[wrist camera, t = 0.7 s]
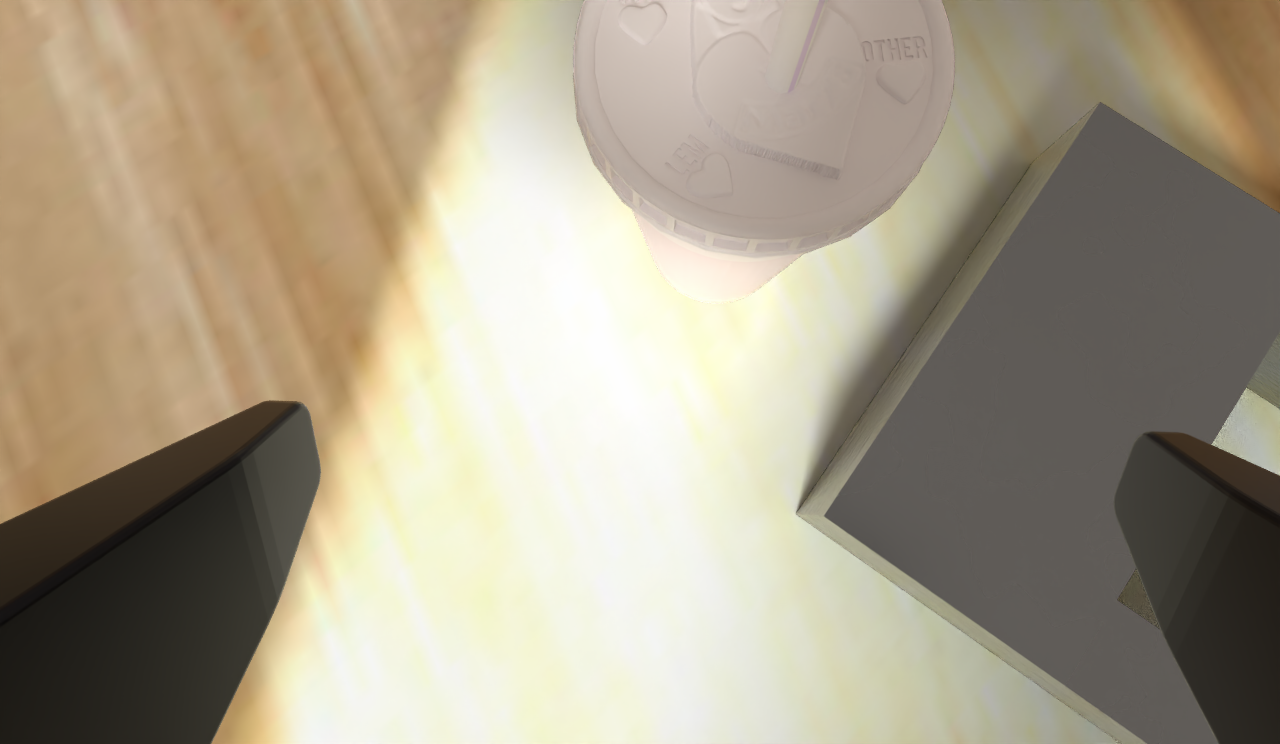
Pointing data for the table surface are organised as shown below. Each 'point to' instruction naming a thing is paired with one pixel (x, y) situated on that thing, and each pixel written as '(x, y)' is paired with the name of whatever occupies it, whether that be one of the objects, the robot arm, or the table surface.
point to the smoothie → (758, 123)
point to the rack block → (1064, 413)
